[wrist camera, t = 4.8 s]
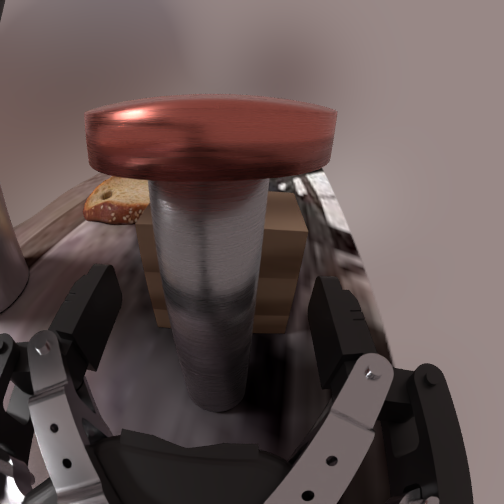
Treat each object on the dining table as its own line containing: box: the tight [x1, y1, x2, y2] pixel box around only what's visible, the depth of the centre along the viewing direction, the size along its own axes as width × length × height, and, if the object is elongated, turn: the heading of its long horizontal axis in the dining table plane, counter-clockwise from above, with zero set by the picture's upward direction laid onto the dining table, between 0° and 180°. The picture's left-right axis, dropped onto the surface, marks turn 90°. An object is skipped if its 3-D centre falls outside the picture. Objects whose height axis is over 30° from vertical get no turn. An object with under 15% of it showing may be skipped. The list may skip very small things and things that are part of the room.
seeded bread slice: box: [83, 176, 150, 225], centre depth 35 cm, size 18×18×4 cm
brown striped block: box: [135, 191, 308, 333], centre depth 18 cm, size 5×9×8 cm, turn 91°
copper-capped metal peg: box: [84, 94, 337, 412], centre depth 13 cm, size 14×6×14 cm, turn 1°
